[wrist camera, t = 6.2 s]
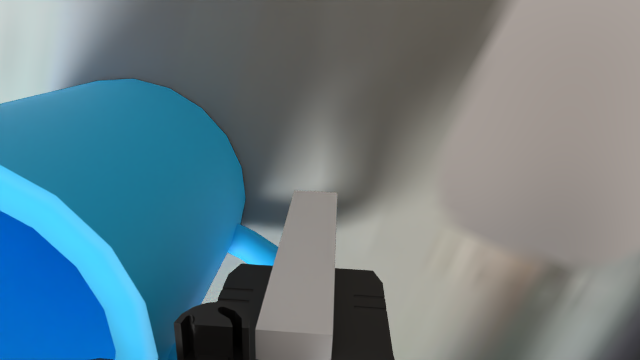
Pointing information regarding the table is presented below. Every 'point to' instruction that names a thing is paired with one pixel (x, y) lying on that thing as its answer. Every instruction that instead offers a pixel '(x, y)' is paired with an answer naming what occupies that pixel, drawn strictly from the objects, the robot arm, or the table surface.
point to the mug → (112, 220)
